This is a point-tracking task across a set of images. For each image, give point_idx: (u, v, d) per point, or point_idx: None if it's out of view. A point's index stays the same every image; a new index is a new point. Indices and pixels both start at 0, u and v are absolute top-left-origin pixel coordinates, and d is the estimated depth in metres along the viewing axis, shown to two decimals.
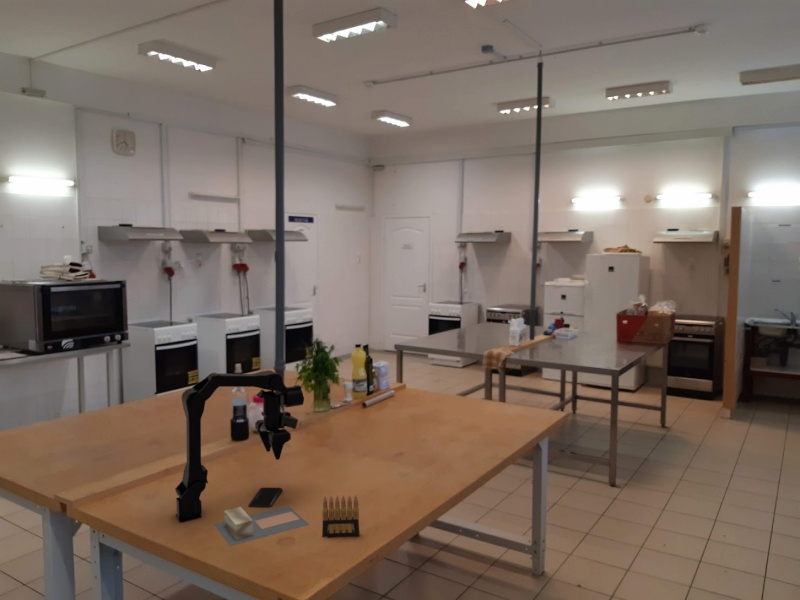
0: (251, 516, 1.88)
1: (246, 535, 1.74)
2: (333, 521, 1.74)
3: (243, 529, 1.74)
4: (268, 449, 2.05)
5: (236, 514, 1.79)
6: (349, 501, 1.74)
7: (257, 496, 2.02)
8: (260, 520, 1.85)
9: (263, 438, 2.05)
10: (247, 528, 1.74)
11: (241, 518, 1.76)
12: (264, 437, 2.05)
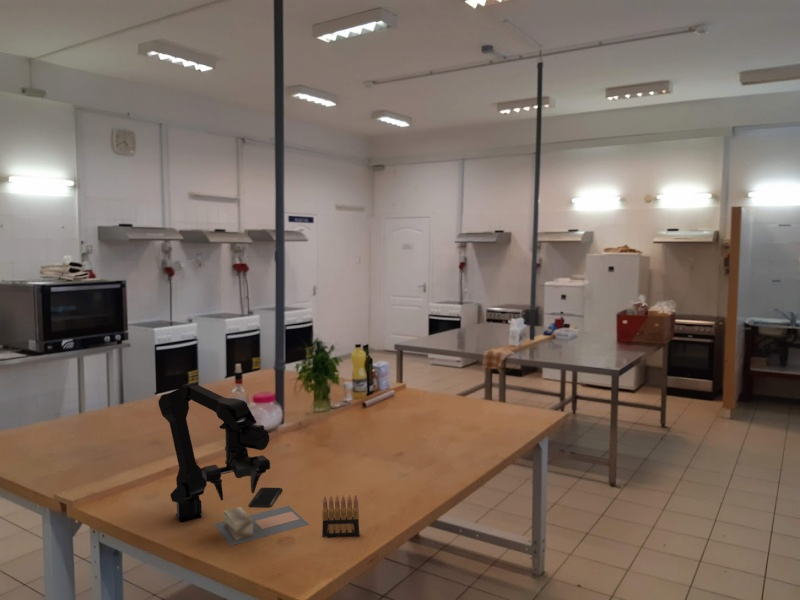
0: (251, 516, 1.88)
1: (246, 535, 1.74)
2: (333, 521, 1.74)
3: (243, 529, 1.74)
4: (251, 490, 1.80)
5: (236, 514, 1.79)
6: (349, 501, 1.74)
7: (257, 496, 2.02)
8: (260, 520, 1.85)
9: (251, 475, 1.81)
10: (247, 528, 1.74)
11: (241, 518, 1.76)
12: (251, 475, 1.81)
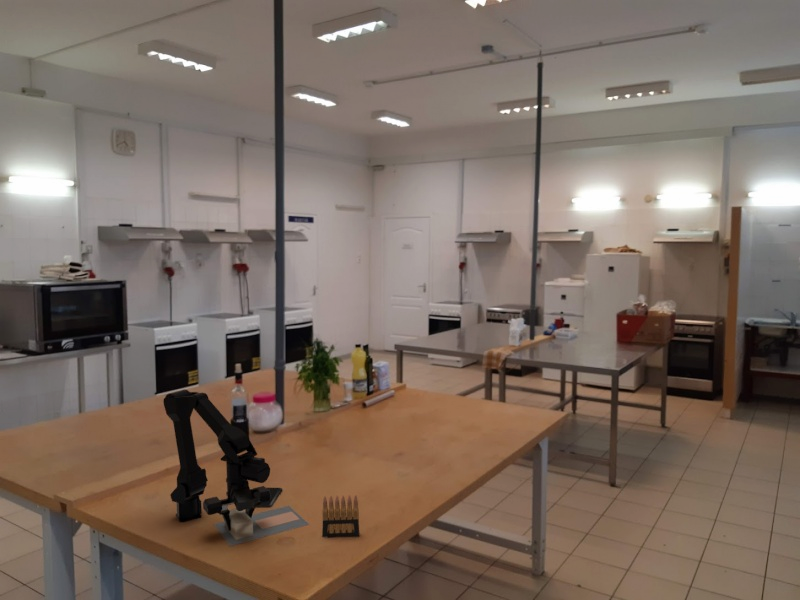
0: None
1: (246, 535, 1.74)
2: (333, 521, 1.74)
3: (243, 529, 1.74)
4: None
5: (236, 514, 1.79)
6: (349, 501, 1.74)
7: None
8: (260, 520, 1.85)
9: None
10: (247, 528, 1.74)
11: (241, 518, 1.76)
12: None
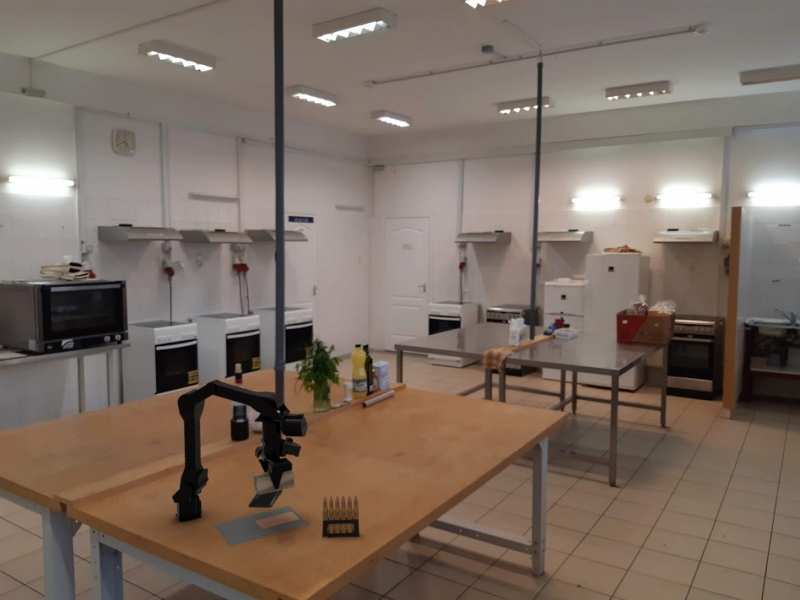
0: (251, 516, 1.88)
1: None
2: (333, 521, 1.74)
3: None
4: None
5: None
6: (349, 501, 1.74)
7: (257, 496, 2.02)
8: (260, 520, 1.85)
9: (265, 468, 1.85)
10: None
11: None
12: (266, 468, 1.85)
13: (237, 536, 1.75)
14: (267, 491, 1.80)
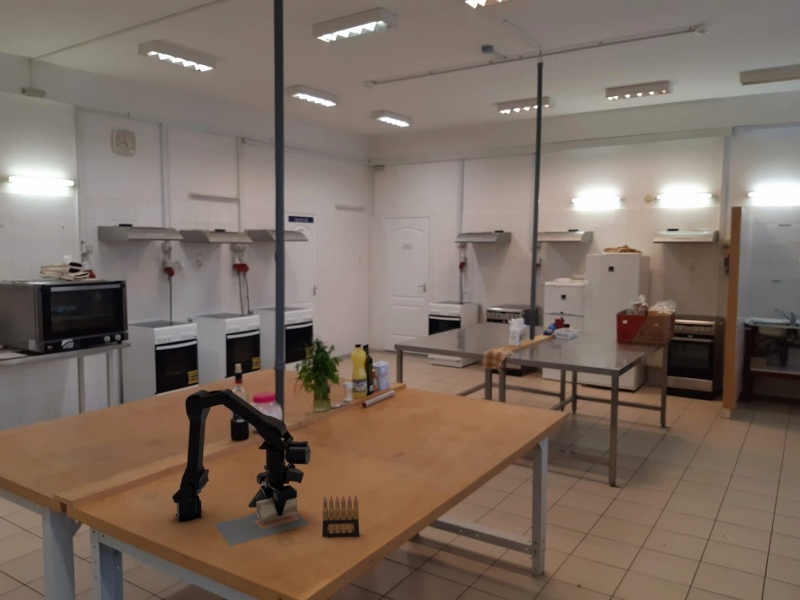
0: (251, 516, 1.88)
1: None
2: (333, 521, 1.74)
3: None
4: None
5: None
6: (349, 501, 1.74)
7: (257, 496, 2.02)
8: (260, 520, 1.85)
9: (268, 495, 1.86)
10: None
11: None
12: (268, 494, 1.86)
13: (237, 536, 1.75)
14: (271, 518, 1.81)
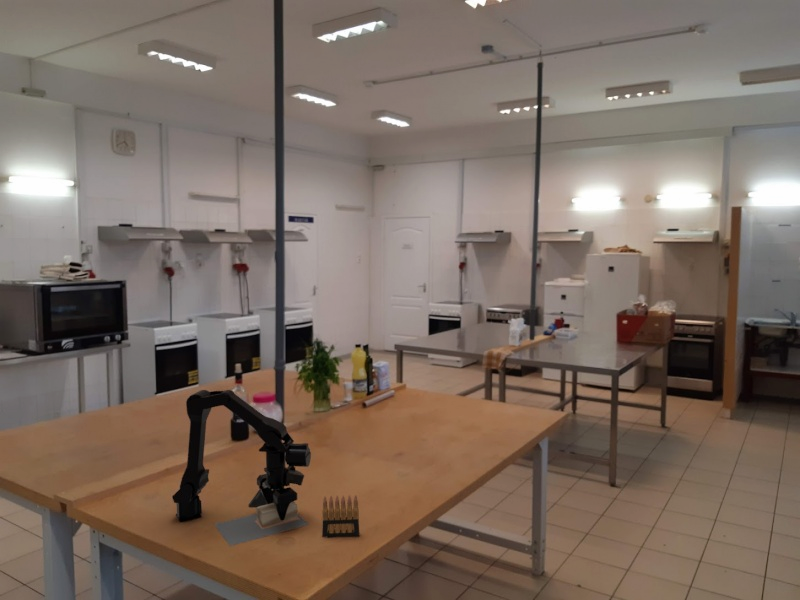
0: (251, 516, 1.88)
1: None
2: (333, 521, 1.74)
3: None
4: None
5: (273, 506, 1.84)
6: (349, 501, 1.74)
7: (257, 496, 2.02)
8: None
9: (266, 495, 1.88)
10: None
11: None
12: (267, 495, 1.88)
13: (237, 536, 1.75)
14: (271, 523, 1.81)
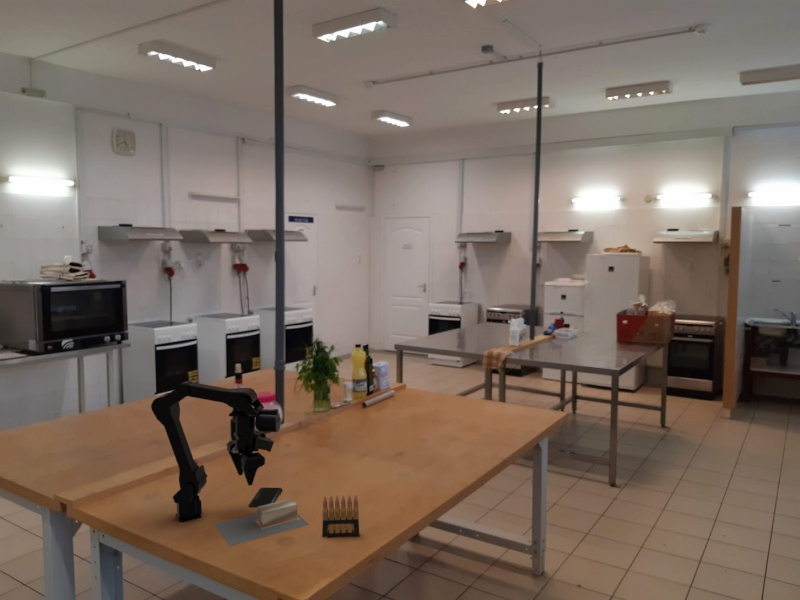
0: (251, 516, 1.88)
1: None
2: (333, 521, 1.74)
3: None
4: (240, 472, 1.90)
5: (273, 506, 1.84)
6: (349, 501, 1.74)
7: (257, 496, 2.02)
8: None
9: (235, 460, 1.89)
10: None
11: (284, 503, 1.86)
12: (236, 460, 1.89)
13: (237, 536, 1.75)
14: (271, 523, 1.81)
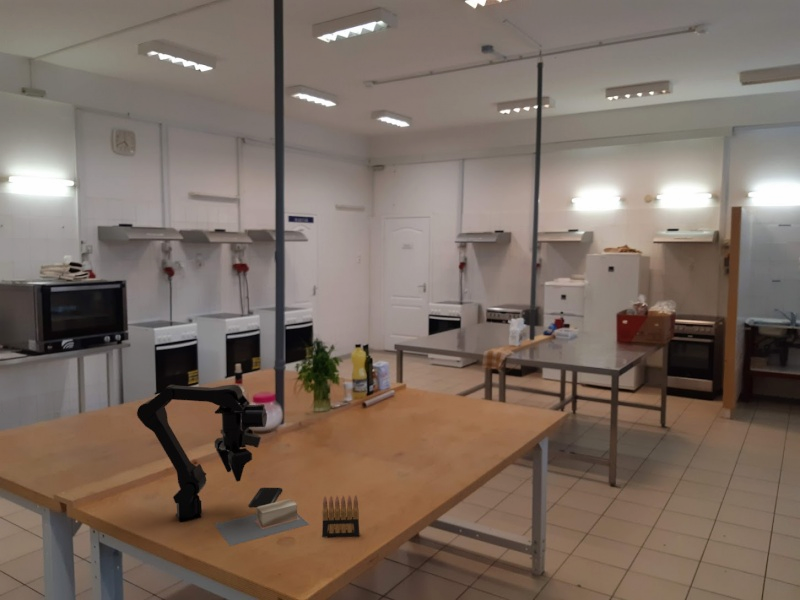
0: (251, 516, 1.88)
1: None
2: (333, 521, 1.74)
3: None
4: (229, 469, 1.91)
5: (273, 506, 1.84)
6: (349, 501, 1.74)
7: (257, 496, 2.02)
8: None
9: (223, 457, 1.90)
10: None
11: (284, 503, 1.86)
12: (224, 457, 1.90)
13: (237, 536, 1.75)
14: (271, 523, 1.81)
